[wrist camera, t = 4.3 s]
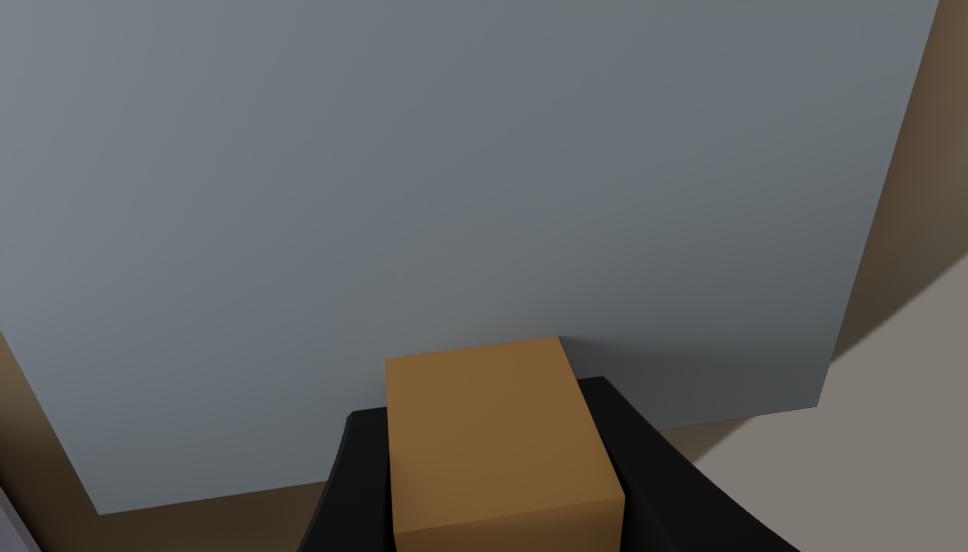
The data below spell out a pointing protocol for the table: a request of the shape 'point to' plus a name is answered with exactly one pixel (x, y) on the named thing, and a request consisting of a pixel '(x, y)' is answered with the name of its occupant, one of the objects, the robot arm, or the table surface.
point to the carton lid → (432, 235)
